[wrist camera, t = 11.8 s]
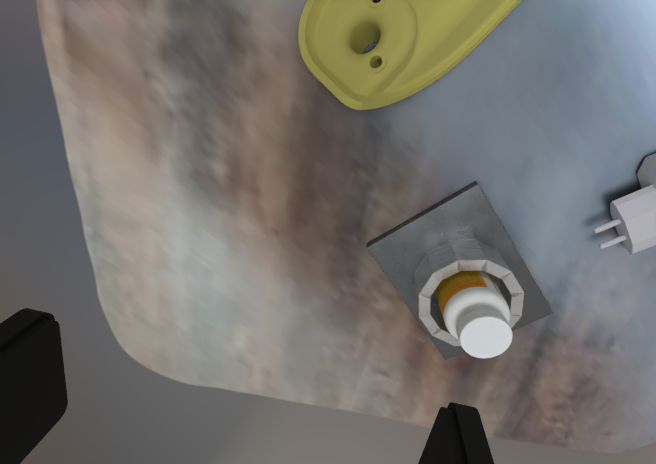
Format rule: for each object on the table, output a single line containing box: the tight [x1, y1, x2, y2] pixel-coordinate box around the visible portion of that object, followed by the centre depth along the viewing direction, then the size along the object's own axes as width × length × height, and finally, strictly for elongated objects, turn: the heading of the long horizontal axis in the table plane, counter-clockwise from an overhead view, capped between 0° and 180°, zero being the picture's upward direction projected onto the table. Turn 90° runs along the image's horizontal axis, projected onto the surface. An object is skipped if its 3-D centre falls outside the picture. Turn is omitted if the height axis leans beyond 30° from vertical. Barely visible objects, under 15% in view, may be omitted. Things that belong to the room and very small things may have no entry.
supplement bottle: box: [435, 270, 512, 358], centre depth 35 cm, size 5×5×10 cm
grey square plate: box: [367, 181, 553, 360], centre depth 38 cm, size 16×12×6 cm
